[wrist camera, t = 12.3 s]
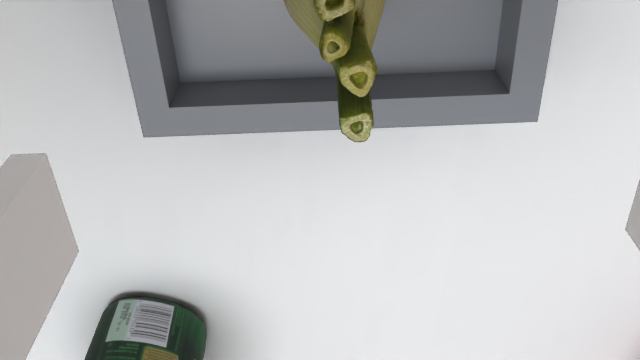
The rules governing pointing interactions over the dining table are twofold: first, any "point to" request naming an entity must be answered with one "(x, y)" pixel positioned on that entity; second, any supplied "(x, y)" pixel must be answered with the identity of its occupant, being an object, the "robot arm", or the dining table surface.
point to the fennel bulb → (345, 53)
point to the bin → (319, 76)
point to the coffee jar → (147, 332)
